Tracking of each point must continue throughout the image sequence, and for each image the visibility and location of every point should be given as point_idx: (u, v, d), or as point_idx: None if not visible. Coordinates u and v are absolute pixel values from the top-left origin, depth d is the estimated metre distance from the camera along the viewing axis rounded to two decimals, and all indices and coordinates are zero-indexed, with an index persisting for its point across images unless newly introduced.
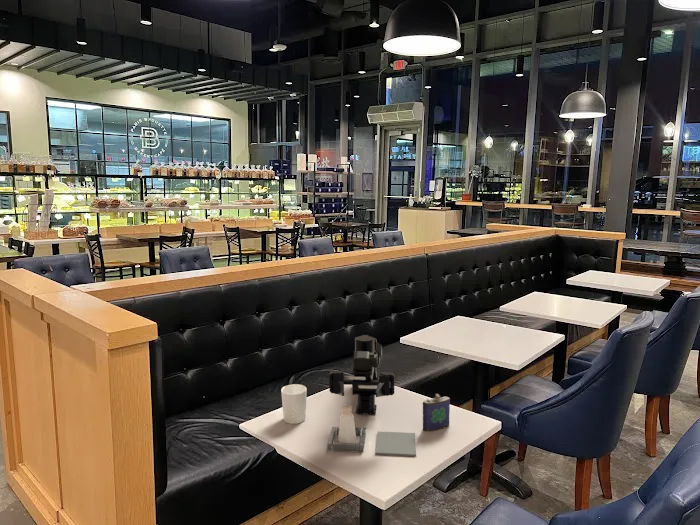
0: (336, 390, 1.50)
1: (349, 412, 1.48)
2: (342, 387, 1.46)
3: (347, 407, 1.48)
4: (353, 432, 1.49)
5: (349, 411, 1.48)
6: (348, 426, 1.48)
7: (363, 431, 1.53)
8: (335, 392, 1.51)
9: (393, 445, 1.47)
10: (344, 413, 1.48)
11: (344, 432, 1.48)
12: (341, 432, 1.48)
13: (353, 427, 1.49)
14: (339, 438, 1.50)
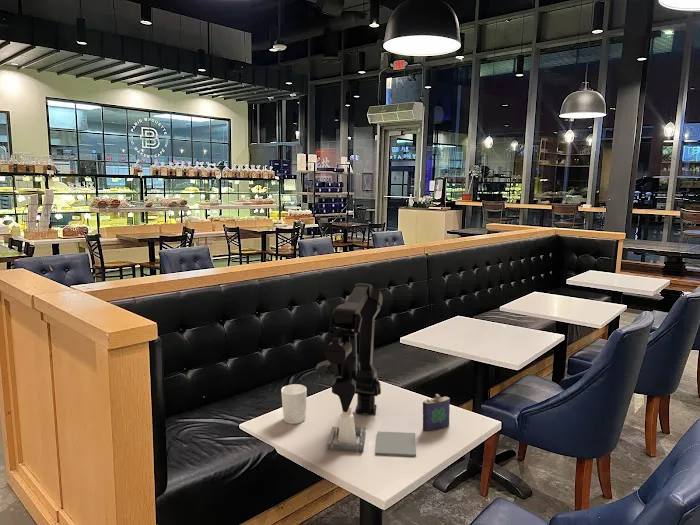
0: None
1: (349, 412, 1.48)
2: None
3: None
4: (353, 432, 1.49)
5: (349, 411, 1.48)
6: (348, 426, 1.48)
7: (363, 431, 1.53)
8: None
9: (393, 445, 1.47)
10: (344, 413, 1.48)
11: (344, 432, 1.48)
12: (341, 432, 1.48)
13: (353, 427, 1.49)
14: (339, 438, 1.50)
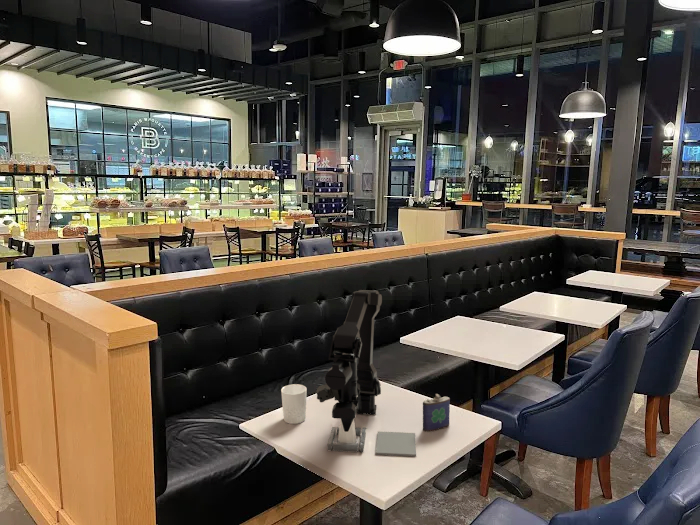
0: None
1: None
2: None
3: None
4: (353, 432, 1.49)
5: None
6: None
7: (363, 431, 1.53)
8: None
9: (393, 445, 1.47)
10: None
11: (344, 432, 1.48)
12: (341, 432, 1.48)
13: (353, 427, 1.49)
14: (339, 438, 1.50)
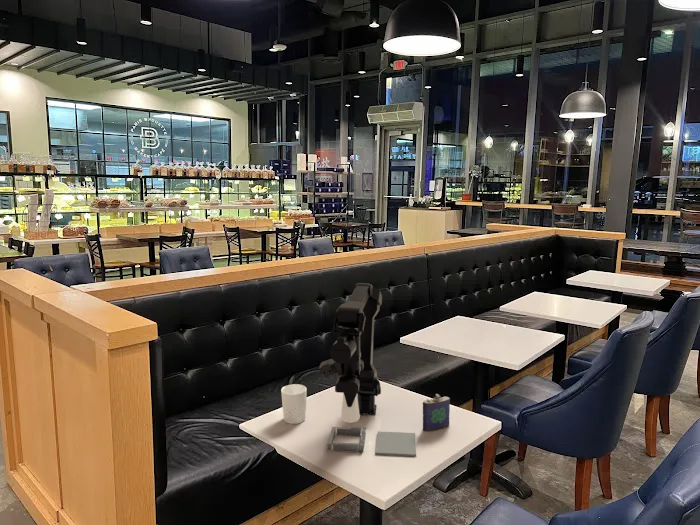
0: None
1: None
2: None
3: None
4: (356, 408, 1.48)
5: None
6: None
7: (363, 431, 1.53)
8: None
9: (393, 445, 1.47)
10: None
11: (347, 408, 1.47)
12: (344, 408, 1.47)
13: (356, 403, 1.48)
14: (342, 414, 1.48)
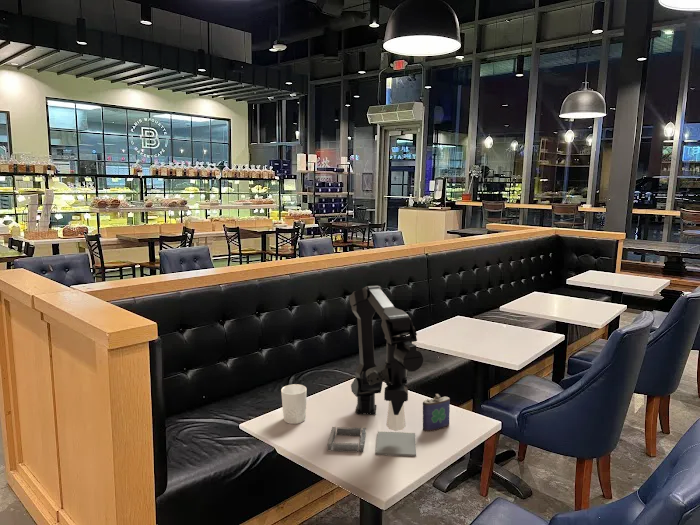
0: None
1: None
2: None
3: None
4: (402, 416, 1.47)
5: None
6: None
7: (363, 431, 1.53)
8: None
9: (393, 445, 1.47)
10: None
11: (394, 416, 1.46)
12: (390, 416, 1.46)
13: (402, 411, 1.47)
14: (388, 422, 1.47)
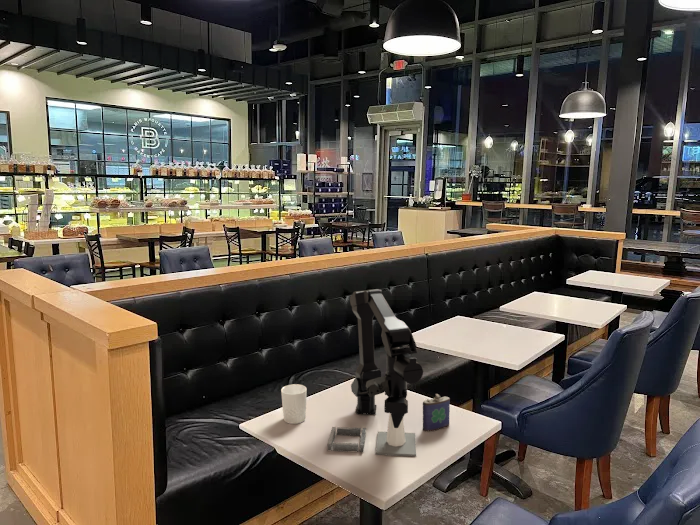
0: None
1: None
2: None
3: None
4: (402, 432, 1.47)
5: None
6: None
7: (363, 431, 1.53)
8: None
9: None
10: None
11: (394, 432, 1.47)
12: (390, 432, 1.47)
13: (402, 427, 1.48)
14: (388, 438, 1.48)
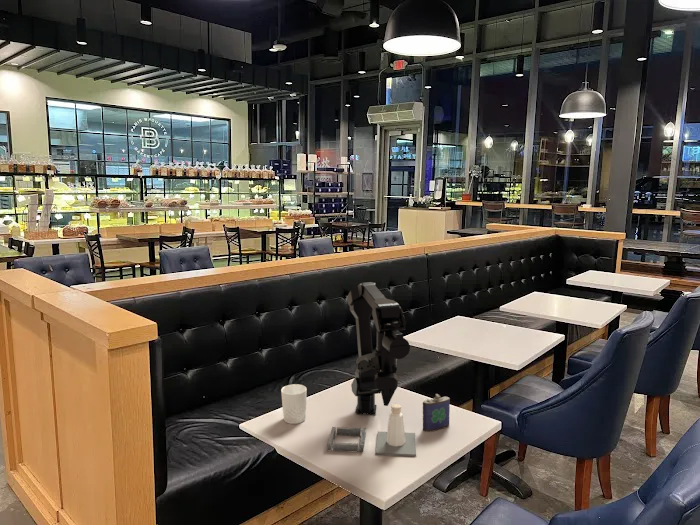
0: None
1: (398, 411, 1.47)
2: None
3: (396, 406, 1.47)
4: (402, 432, 1.48)
5: (399, 410, 1.47)
6: (397, 425, 1.46)
7: (363, 431, 1.53)
8: None
9: None
10: (393, 412, 1.47)
11: (394, 431, 1.47)
12: (390, 432, 1.47)
13: (402, 426, 1.48)
14: (388, 438, 1.48)
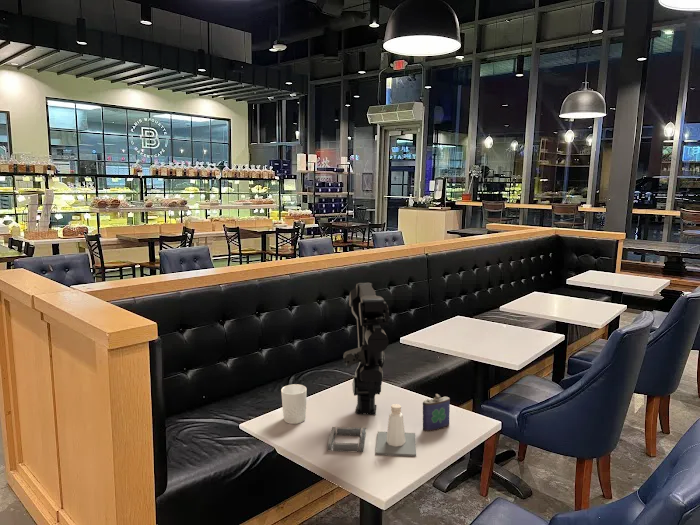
0: None
1: (398, 411, 1.47)
2: None
3: (396, 406, 1.47)
4: (402, 432, 1.48)
5: (399, 410, 1.47)
6: (397, 425, 1.46)
7: (363, 431, 1.53)
8: None
9: None
10: (393, 412, 1.47)
11: (394, 431, 1.47)
12: (390, 432, 1.47)
13: (402, 426, 1.48)
14: (388, 438, 1.48)
